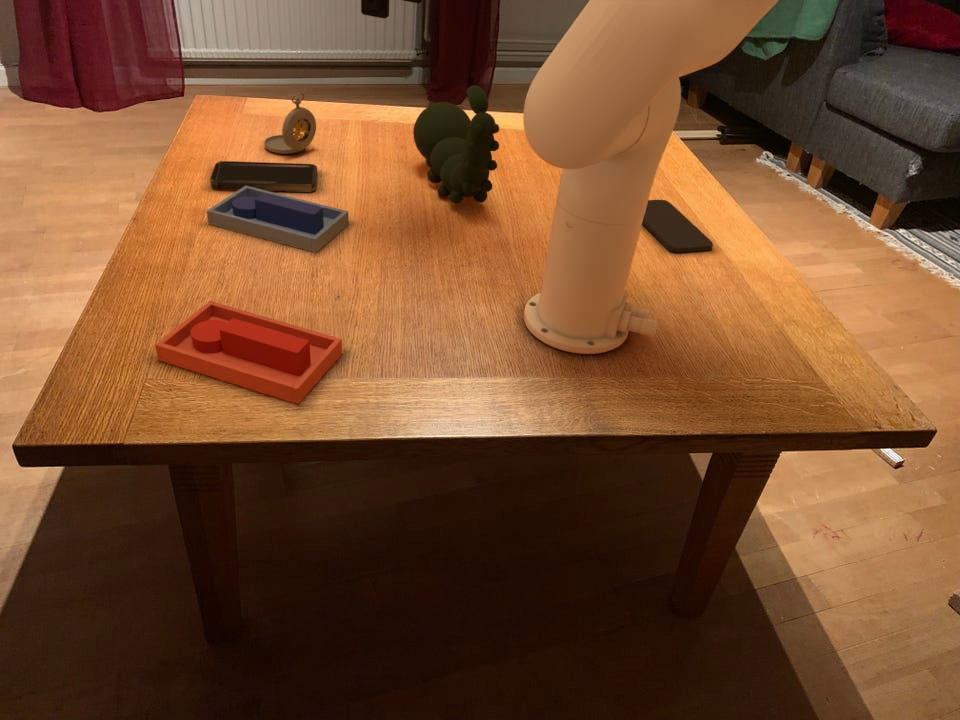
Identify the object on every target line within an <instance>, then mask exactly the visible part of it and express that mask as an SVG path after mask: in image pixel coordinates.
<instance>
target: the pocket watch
mask: <svg viewBox="0 0 960 720" xmlns="http://www.w3.org/2000/svg"><path fill="white" fill-rule="evenodd" d="M299 95H302V97H301V99H300V98H299V97H297V96H299ZM294 99H295V100H294ZM304 99H305V94H304V92H297V93H295V94H294V95H293V96H292V98H291V102H292V103H293V104H294V105H295V107H294V108H293V109H292V110H290V112H288V114H287V115H286V116H285V118H284V121H283V124H282V127H281V128H282V130H281V134H278V135H276V134H275V135H272V136H268V137H267V138H266V139H265V140H264V142H263V144H264V147H265V149H266V150H268V151H269V152H273V153H275V154H280V155H281V154H284V155H288V154H289V155H290V154H297V153H300V152H302V151H304V150H305V149H306V148H308V146H310V144H311V143H312V142H313V140H314V138H315V136H316V131H317V122H316V118H315V116H314V114H313V112H311V111H310V110H309V109H308V108H306V107H302V106H300V104H301V103H302V101H303V100H304Z"/></svg>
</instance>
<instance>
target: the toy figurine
mask: <svg viewBox="0 0 960 720" xmlns="http://www.w3.org/2000/svg"><path fill="white" fill-rule="evenodd" d="M466 97H467V98H468V102H469V106H470V108H471V110H472V112H473V113H474V114H475V115H474V116H473V117H472V118H471V119H470V117H469V114H467V112H466V111H465V110H464V109H462V108H461V107H460V106H459V105H457V104H454V103H451V102H448V101H447V102H445V101H440V102H436V103H435V102H434V101H432V100H430V101H428V104H427V107H426V108H424V109H423V110H421V112H420V113H419V115H418V116H417V118H416V120H415V123H414V125H413V128H412V129H413V130H412V133H413V134H412V135H413V141H414V144H415V146H416V149H417V151H418V153H420V155H421V156H422V158H424V159H425V162H426V165H427V166H428V167H429V168H428V170H427V179H428V181H429V182H430V183H431V184H439V185H438V188H437V190H436V191H437V194H438V197H441V198H449V201H450V203H451V204H454V205H460V204H461V203H463V200H464V198H468V199H469V198H472V197H473V200H474V201H476V202H477V203H485V201H487V199H488V193H489V192H491V191H492V190H493V186H494V185H493V183H492V182H491V180H489V177H490V171H491V172H492V171H495V170H496V169H497V168H498V163H497V161H496V160H495V159H493V155H492V152H496V151H498V150H499V148H500V143H499V141H498V140H496V139H495V136H494V135H495V134H497V133H499V132H500V125H499V124H497V123H496V120H495V118H494V116H492V115H491V113H488V112H487V111H488V108H489V103H490V102H489V98H488V95H487V93H486V92H485V90H484V89H483V88H482V87H480V86H479V85H471V86H469V87H468V88H467V89H466ZM440 183H441V184H440Z"/></svg>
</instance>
